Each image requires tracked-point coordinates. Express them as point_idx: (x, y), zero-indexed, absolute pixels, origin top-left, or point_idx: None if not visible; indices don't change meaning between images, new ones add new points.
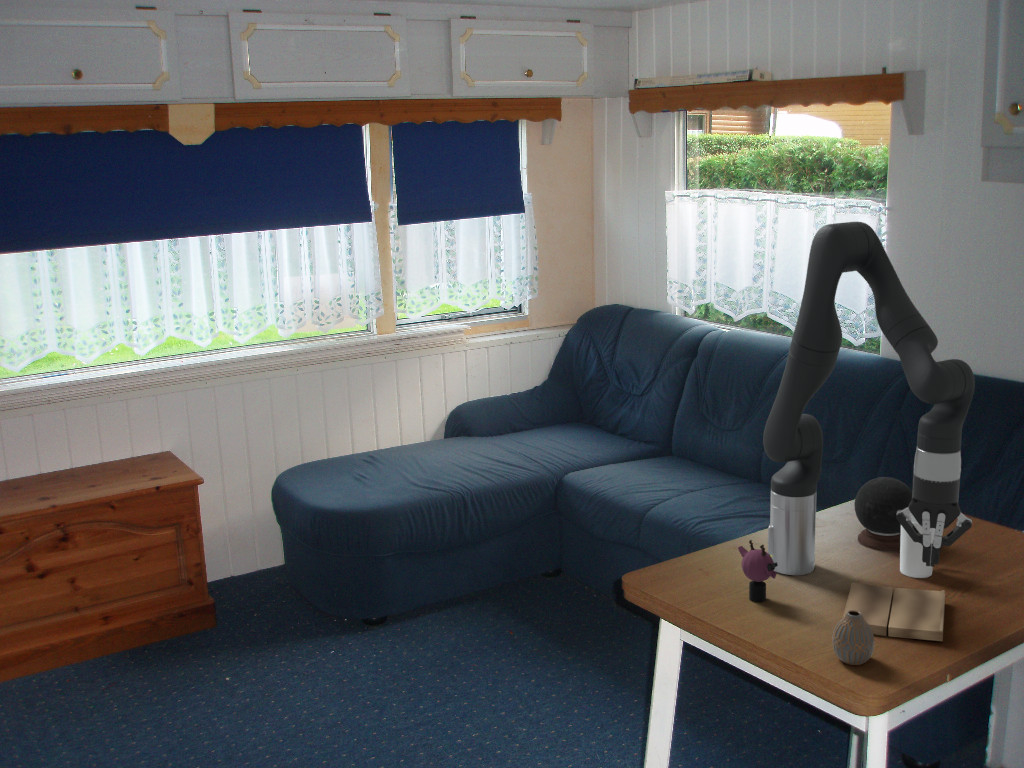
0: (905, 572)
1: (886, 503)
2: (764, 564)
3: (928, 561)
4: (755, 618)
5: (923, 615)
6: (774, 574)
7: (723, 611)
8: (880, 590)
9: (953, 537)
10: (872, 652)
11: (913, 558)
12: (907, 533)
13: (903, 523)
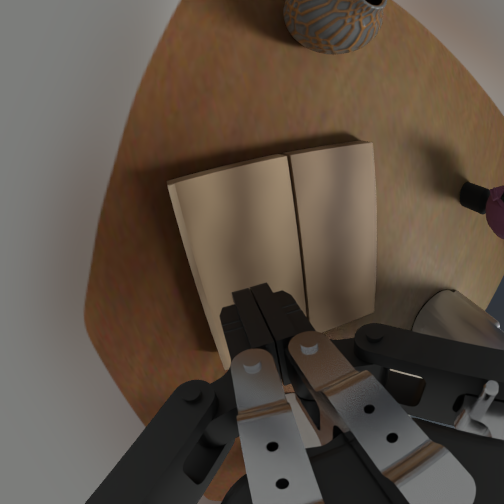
0: None
1: None
2: None
3: (262, 293)
4: (461, 126)
5: (231, 251)
6: (495, 191)
7: (486, 133)
8: (329, 312)
9: (166, 436)
10: (284, 8)
11: (298, 417)
12: None
13: (487, 359)
